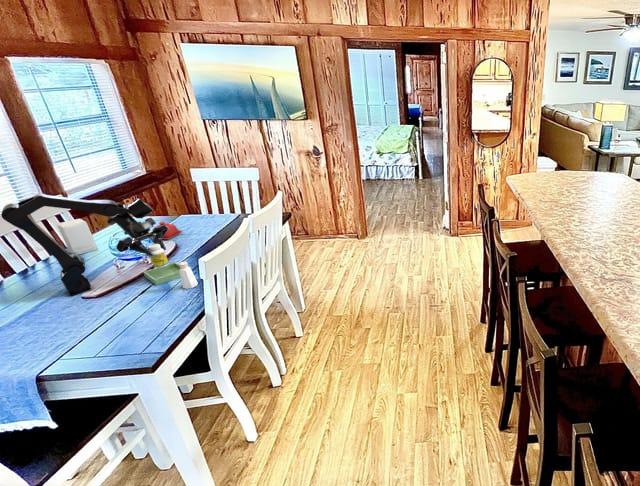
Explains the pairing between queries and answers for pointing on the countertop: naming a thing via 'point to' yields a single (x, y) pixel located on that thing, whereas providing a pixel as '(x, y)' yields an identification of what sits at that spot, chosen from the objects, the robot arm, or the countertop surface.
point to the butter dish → (169, 230)
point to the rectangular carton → (77, 236)
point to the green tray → (163, 273)
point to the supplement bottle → (158, 256)
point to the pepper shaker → (187, 276)
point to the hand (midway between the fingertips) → (158, 252)
